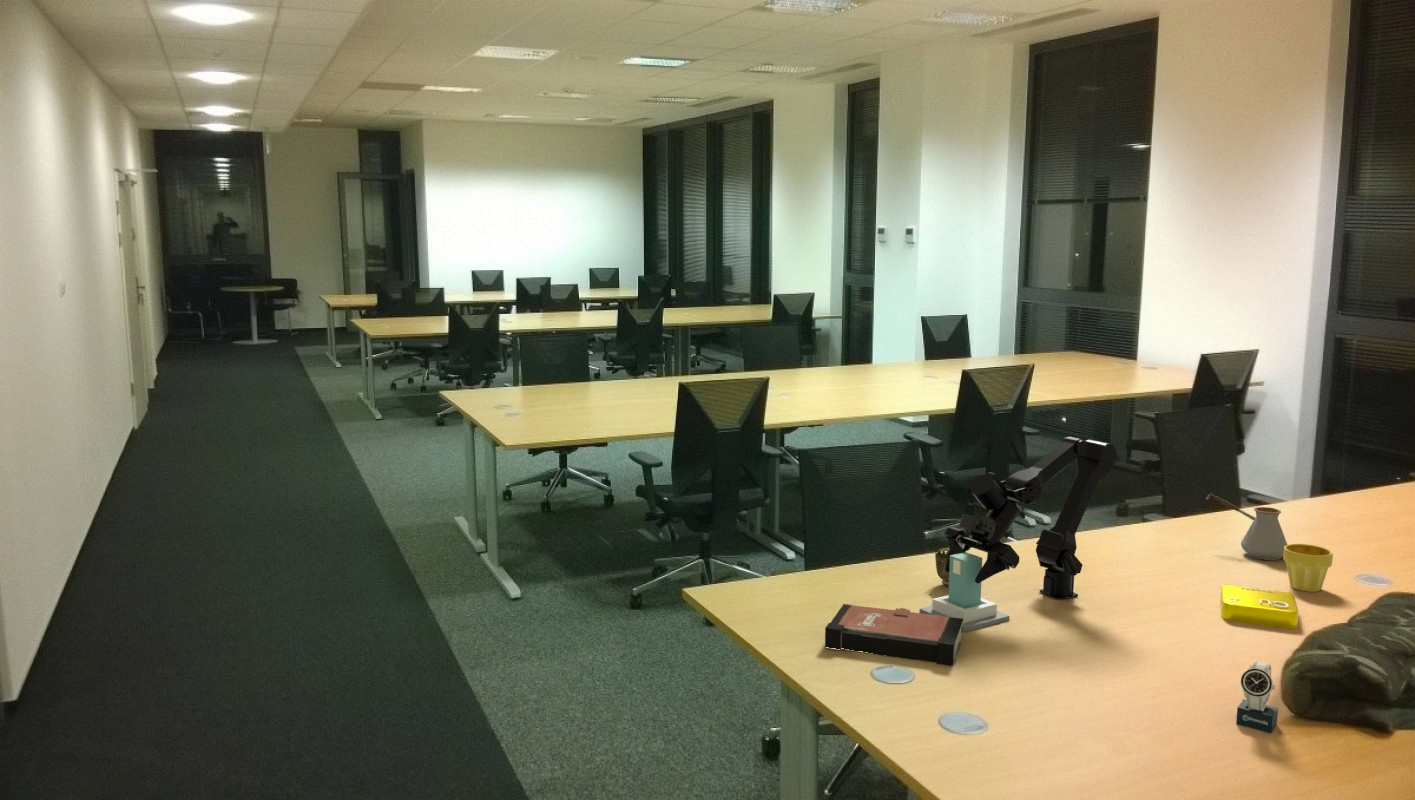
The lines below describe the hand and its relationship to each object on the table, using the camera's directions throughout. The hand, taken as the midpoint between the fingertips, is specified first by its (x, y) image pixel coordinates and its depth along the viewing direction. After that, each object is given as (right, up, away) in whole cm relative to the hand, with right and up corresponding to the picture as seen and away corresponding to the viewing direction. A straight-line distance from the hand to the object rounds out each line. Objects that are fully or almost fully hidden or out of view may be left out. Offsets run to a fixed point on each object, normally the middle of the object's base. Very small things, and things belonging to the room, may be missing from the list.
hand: (960, 576), depth 230 cm
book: (-17, -12, -13) cm, 25 cm away
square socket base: (+1, -9, +2) cm, 10 cm away
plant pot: (+90, -7, +21) cm, 92 cm away
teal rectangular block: (+1, -8, +2) cm, 9 cm away
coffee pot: (+90, -2, +51) cm, 103 cm away
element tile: (+68, -10, +4) cm, 69 cm away
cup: (+3, -6, +23) cm, 24 cm away
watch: (+39, -17, -51) cm, 66 cm away
